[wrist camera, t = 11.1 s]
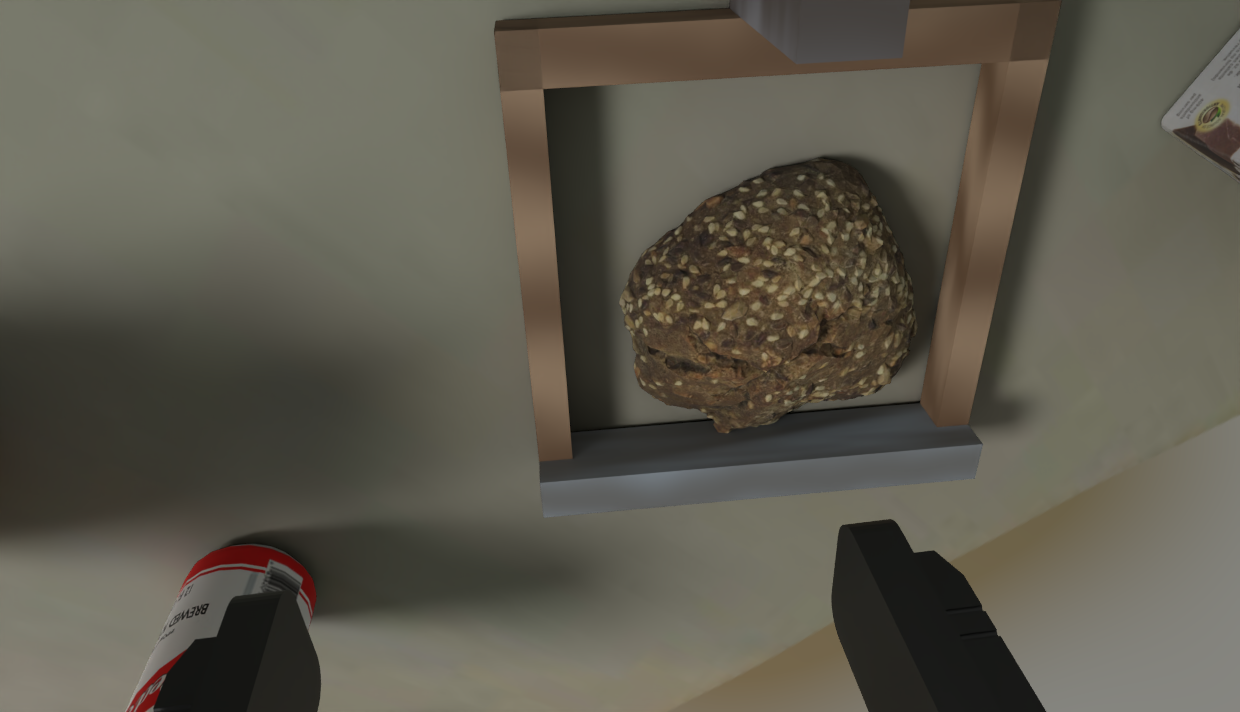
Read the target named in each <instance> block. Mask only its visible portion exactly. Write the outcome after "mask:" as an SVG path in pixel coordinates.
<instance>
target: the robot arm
mask: <svg viewBox="0 0 1240 712" xmlns="http://www.w3.org/2000/svg"><path fill="white" fill-rule="evenodd" d="M832 612H833V618H834V623H835V627H836V630H837V634H838V637H839V639H840V642H841V644H842V647H843V649H844V652H845V654H846V657H847V659H848V661H849V664H850V667H851V669H852V672H853V674H854V676H855V679H856V681H857V684H858V686H859V689H860V691H861V694H862V696H863V699H864V701H865V704H866V706H867V708H868V711H869V712H1046V711H1045V709H1044V707H1043V706H1042V704H1041V702H1040V701H1039V699H1038V697H1037V696H1036V694H1035V692H1034V691H1033V689H1032V687H1031V686H1030V684H1029V682H1028V681H1027V679H1026V677H1025V676H1024V674H1023V672H1022V671H1021V669H1020V668H1019V666H1018V664H1017V663H1016V661H1015V659H1014V658H1013V656H1012V654H1011V653H1010V651H1009V649H1008V648H1007V646H1006V644H1005V643H1004V641H1003V639H1002V638H1001V636H998V635H997V631H996V630H997V629H996V628H995V626H994V625H993V623H992V621H991V620H990V618H989V616H988V615H987V613H986V611H983V610H982V605H981V603H980V601H979V600H978V598H977V596H976V595H975V593H974V591H973V590H972V588H971V586H970V585H969V583H968V581H967V580H966V578H965V577H964V575H963V574H962V573H961V572H959V571H958V570H957V569H956V568H954V567H953V566H952V565H951V564H950V563H949V562H947V561H946V560H945V559H944V558H943V557H941V556H940V555H939V554H938V553H937V552H935V551H926V552H917V553H914V552H913V551H912V549H911V547H910V545H909V543H908V542H907V540H906V538H905V536H904V534H903V533H902V531H901V529H900V527H899V526H898V524H897V523H896V522H895V521H894V520H891V519H888V520H880V521H872V522H863V523H855V524H847V525H842V526H841V527H840V530H839V534H838V542H837V551H836V560H835V569H834V577H833V586H832ZM320 691H321V675H320V666H319V661H318V657H317V654H316V651H315V649H314V646H313V643H312V641H311V638H310V635H309V633H308V630H307V627H306V625H305V622H304V619H303V616H302V614H301V611H300V608H299V606H298V603H297V600H296V598H295V596H294V594H293V592H291V591H290V590H282V591H274V592H265V593H257V594H249V595H240V596H235V597H233V598H232V599H231V601H230V602H229V604H228V606H227V609H226V611H225V614H224V617H223V620H222V623H221V625H220V628H219V631H218V634H217V637H210V638H202V639H195V640H194V641H193V643H192V644H191V645H190V646H189V647H188V649H187V650H186V651H185V652H184V653H183V655H182V656H181V657H180V658H179V659H178V661H177V662H176V663H175V664H174V665H173V667H172V668H171V669H170V670H169V671H168V672H167V675H166V677H165V680H164V682H163V685H162V687H161V690H160V692H159V695H158V697H157V700H156V702H155V705H154V707H153V710H154V712H317V711H318V706H319V700H320Z"/></svg>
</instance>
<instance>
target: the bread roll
mask: <svg viewBox="0 0 1240 712" xmlns="http://www.w3.org/2000/svg"><path fill="white" fill-rule="evenodd" d="M877 205H878V203H877V200H876V197H875V196H873V195H872V193H871V192H870V190H869V187H868V185H867V184H866V182H865V180H864V178H863V177H862V175H861V174H860V173H859V172H858V170H856V169H855V168H853V167H852V166H850V165H848V164H846V163H843V162H840V161H836V160H828V159H822V158H819V157H818V158H816V159H813V160H811V161H808V162H805V163H801V164H796V165H791V166H785V167H779V168H771V169H768V170H766V171H764V172H763V173H762V174H761V175H760V176H758V177H756V178H754V179H752V180H745V181H743V182H742V183H741V184H740V185H739V186H737V187H735V188H733V189H731V190H729V191H727V192H725V193H723V194H720V195H716V196H713V197H711V198H709V199H707V200H705V201H704V202H702V203H701V204H700V205H699V206H698V207H697V208H696V209H695V210H694V212H692V213H691V214H689V215H688V216H687V217H686V219H685V220H684V222H683V223H682V224H681V225H680V226H679V227H678V228H676V229H673V230H671V231H668V232H667V233H666V234H665V235H664V236H663V237H662V238H660V239H659V240H658V241H657V242H656V243H655V244H654V245H653V246H651V247H650V248H648V249H647V250H646V251H645V252H644V253H643V254H642V255H641V257H640V258H639V260H638V262H637V264H636V266H635V267H634V269H633V270H632V272H631V273H630V277H629V280H628V282H627V284H626V286H625V290H624V291H623V293H622V295H621V297H620V302H619V304H620V306H621V308H622V310H623V313H624V315H625V318H624V323H625V327H626V328H627V329H628V330H629V331H630V333H631V336H632V339H633V349H634V351H635V352H636V354H637V355H636V359H635V363H634V370H635V373H636V377H637V380H638V384H639V386H640V387H641V388H642V389H643V390H645V391H646V392H648V393H649V394H651V395H652V397H653V398H656V399H659V400H660V401H662V402H664V403H665V404H666V405H670V406H671V405H673V406H679V407H684V408H687V409H692V408H694V409H698V410H700V411H701V412H703V413H707V418H711V419H713V420H714V421H715V422H714V424H713V425H714V427H715V428H716V430H717V432H719V433H729V432H730V431H732V430H733V429H738V428H739V429H743V428H746V427H749V426H753V427H758V426H759V425H769V424H772V423H775V422H777V421H778V420H779V419H780V417H782V416H783V415H785V414H786V413H787V412H790V411H792V410H793V409H798V408H799V407H800V406H801V405H803V404H805V403H808V402H810V403H818V402H820V401H822V400H823V401H827V400H831V401H835V400H837V399H839V400H847V399H853V398H856V397H859V396H864V395H866V396H867V395H870V394H874V393H876V392H877V391H878V390H881V389H882V388H883V387H884V386H885V385H886V384H890V383H891V379H892V377H893V376H894V375H895V374H896V373H897V371H898V370H899V369H900V367H901V365H902V361H903V360H904V358H905V357H906V356H908V355H909V352H910V350H909V349H907V348H908V347H909V346H910V340H911V338H912V337H914V336H915V334H916V331H917V327H918V325H917V321H916V317H915V311H914V309H913V307H912V305H913V304H914V301H913V287H912V281H911V277H910V276H909V274H908V272H907V271H906V269H905V266H904V258H903V254H902V253H901V252H900V249H899V246H898V244H897V242H896V241H895V239H894V237H893V233H892V231H891V230H890V229H889V227H888V224H887V222H886V219H885V216H883V215H882V209H881V208H880V207H879V206H877Z"/></svg>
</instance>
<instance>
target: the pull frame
mask: <svg viewBox="0 0 1240 712" xmlns="http://www.w3.org/2000/svg"><path fill="white" fill-rule="evenodd" d="M1061 2H1062V1H1060V0H730V8H726V9H708V10H689V11H670V12H651V13H633V14H614V15H595V16H576V17H557V18H539V19H520V20H501V21H496V22H495V29H494V36H495V45H496V55H497V64H498V74H499V83H500V92H501V102H502V111H503V121H504V130H505V140H506V149H507V159H508V168H509V178H510V187H511V197H512V206H513V216H514V225H515V235H516V244H517V254H518V263H519V273H520V282H521V292H522V301H523V311H524V320H525V330H526V339H527V349H528V358H529V367H530V377H531V386H532V396H533V405H534V415H535V424H536V434H537V443H538V453H539V465H540V488H541V498H542V507H543V516H544V517H555V516H566V515H577V514H588V513H599V512H610V511H621V510H632V509H643V508H654V507H665V506H676V505H688V504H699V503H710V502H721V501H732V500H743V499H754V498H765V497H776V496H787V495H798V494H809V493H820V492H831V491H842V490H853V489H864V488H875V487H886V486H897V485H908V484H920V483H931V482H942V481H953V480H964V479H975V475H976V471H977V467H978V463H979V458H980V454H981V450H982V446H983V444H982V442H981V441H980V440H979V438H978V437H977V436H976V434H975V433H974V432H973V430H972V429H971V428H970V426H969V425H968V423H969V419H970V414H971V410H972V405H973V401H974V396H975V392H976V387H977V383H978V378H979V373H980V369H981V364H982V360H983V355H984V351H985V346H986V342H987V337H988V333H989V328H990V324H991V319H992V315H993V310H994V306H995V301H996V296H997V292H998V287H999V283H1000V278H1001V274H1002V269H1003V265H1004V260H1005V256H1006V251H1007V247H1008V242H1009V238H1010V233H1011V229H1012V224H1013V220H1014V215H1015V210H1016V206H1017V201H1018V197H1019V192H1020V188H1021V183H1022V179H1023V174H1024V170H1025V165H1026V161H1027V156H1028V152H1029V147H1030V143H1031V138H1032V133H1033V129H1034V124H1035V120H1036V115H1037V111H1038V106H1039V102H1040V97H1041V93H1042V88H1043V84H1044V79H1045V75H1046V70H1047V66H1048V61H1049V56H1050V52H1051V47H1052V43H1053V38H1054V34H1055V29H1056V25H1057V20H1058V16H1059V11H1060V7H1061ZM978 63H982V65H981V70H980V76H979V81H978V87H977V92H976V98H975V103H974V109H973V114H972V120H971V125H970V131H969V136H968V142H967V147H966V153H965V158H964V164H963V169H962V175H961V180H960V186H959V191H958V197H957V202H956V208H955V213H954V219H953V224H952V230H951V236H950V241H949V247H948V252H947V258H946V263H945V269H944V274H943V280H942V285H941V291H940V296H939V302H938V307H937V313H936V318H935V324H934V329H933V335H932V340H931V346H930V351H929V357H928V362H927V368H926V373H925V379H924V384H923V390H922V395H921V401H920V403H916V404H904V405H892V406H880V407H868V408H856V409H845V410H833V411H821V412H809V413H797V414H785V415H783V416H782V417H780V419H779V420H778V421H777V422H775V423H772V424H769V425H759V426H758V427H753V426H749V427H746V428H743V429H739V428H738V429H733V430H732V431H730V432H729V433H719V432H717V430H716V428H715V427H714V425H713V424H714V422H715V421H702V422H691V423H679V424H667V425H655V426H643V427H631V428H619V429H608V430H596V431H584V432H572V433H571V432H570V420H569V407H568V394H567V382H566V369H565V357H564V344H563V332H562V319H561V306H560V294H559V281H558V269H557V256H556V244H555V231H554V218H553V206H552V193H551V181H550V168H549V156H548V143H547V130H546V118H545V105H544V93H543V89H551V88H568V87H585V86H602V85H619V84H636V83H653V82H670V81H687V80H704V79H721V78H738V77H756V76H773V75H790V74H807V73H824V72H841V71H858V70H875V69H892V68H909V67H926V66H943V65H961V64H978Z"/></svg>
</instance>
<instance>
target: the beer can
mask: <svg viewBox="0 0 1240 712" xmlns="http://www.w3.org/2000/svg"><path fill="white" fill-rule="evenodd" d="M282 590H290V591H291V592H293V594H294V596H295V598H296V600H297V603H298V606H299V608H300V611H301V614H302V616H303V619H304V622H305V625H306V627H307V630H309V626H310V623H311V619H312V615H313V611H314V607H315V602H316V597H317V596H316V590H315V586H314V582H313V579H312V577H311V576H310V575H309V573H308V572H307V571H306V569H305V568H304V566H303V565H302V564H300V563H299V562H298V561H297V560H295V559H294V558H293V557H291V556H290V555H289V554H287V553H286V552H284V551H281V550H279V549H276V548H274V547H272V546H266V545H260V544H239V545H233V546H229V547H226V548H222V549H219V550H216V551H213V552H211V553H209V554H208V555H206V556H205V557H204V558H202V559H201V560H199V561H198V562H197V563H196V564H195V565H194V567H193V568H192V570H191V571H190V573H189V574H188V576H187V577H186V579H185V581H184V583H183V585H182V588H181V590H180V592H179V594H178V596H177V599H176V601H175V603H174V605H173V607H172V610H171V612H170V614H169V616H168V619H167V621H166V623H165V625H164V627H163V630H162V632H161V634H160V636H159V638H158V641H157V643H156V645H155V647H154V649H153V652H152V654H151V656H150V658H149V660H148V663H147V665H146V667H145V669H144V671H143V674H142V676H141V678H140V680H139V683H138V685H137V687H136V689H135V691H134V694H133V696H132V698H131V700H130V702H129V705H128V707H127V709H126V711H125V712H154V710H153V707H154V705H155V702H156V700H157V697H158V695H159V692H160V690H161V687H162V685H163V682H164V680H165V677H166V675H167V672H168V671H169V670H170V669H171V668H172V667H173V665H174V664H175V663H176V662H177V661H178V659H179V658H180V657H181V656H182V655H183V653H184V652H185V651H186V650H187V649H188V647H189V646H190V645H191V644H192V643H193V641H194V640H195V639H202V638H210V637H217V634H218V631H219V628H220V625H221V623H222V620H223V617H224V614H225V611H226V609H227V606H228V604H229V602H230V601H231V599H232V598H233V597H235V596H240V595H249V594H257V593H265V592H274V591H282Z"/></svg>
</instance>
